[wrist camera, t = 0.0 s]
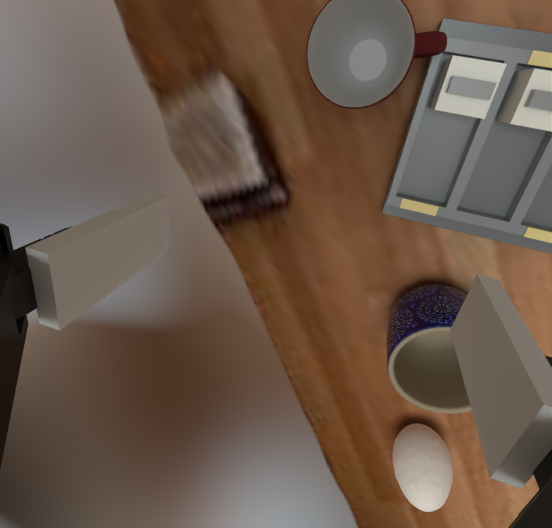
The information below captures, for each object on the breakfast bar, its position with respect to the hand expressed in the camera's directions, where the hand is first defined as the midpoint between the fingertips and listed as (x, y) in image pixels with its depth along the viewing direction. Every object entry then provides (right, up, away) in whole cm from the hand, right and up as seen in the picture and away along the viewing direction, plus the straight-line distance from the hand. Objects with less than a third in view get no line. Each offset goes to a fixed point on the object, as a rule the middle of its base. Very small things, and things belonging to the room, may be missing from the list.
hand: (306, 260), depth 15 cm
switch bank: (+21, +12, +20) cm, 31 cm away
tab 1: (+15, +16, +18) cm, 28 cm away
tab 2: (+21, +14, +17) cm, 30 cm away
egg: (+20, -24, +38) cm, 49 cm away
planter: (+18, -6, +30) cm, 35 cm away
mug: (+9, +20, +20) cm, 30 cm away
